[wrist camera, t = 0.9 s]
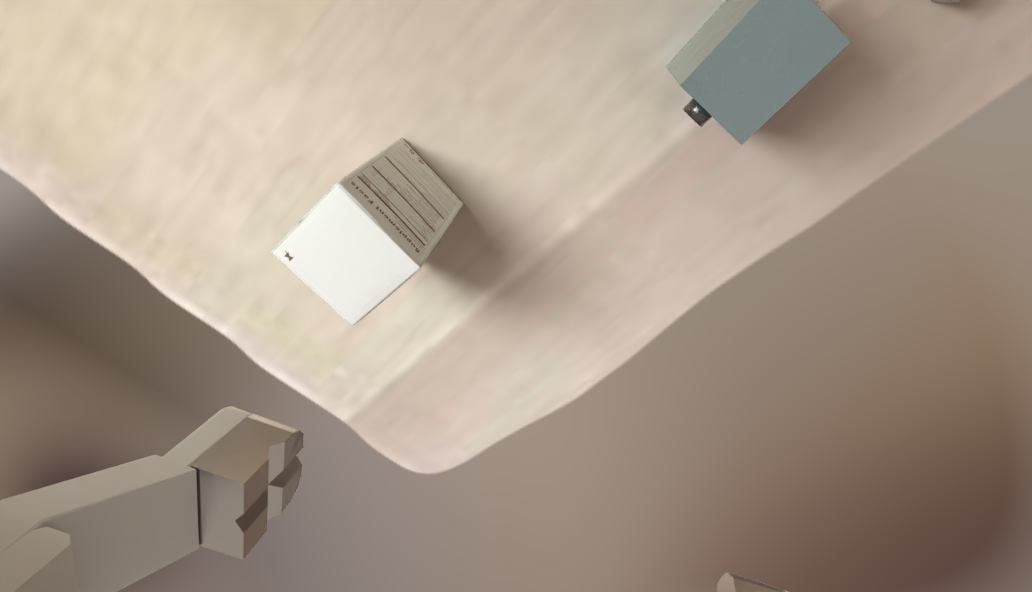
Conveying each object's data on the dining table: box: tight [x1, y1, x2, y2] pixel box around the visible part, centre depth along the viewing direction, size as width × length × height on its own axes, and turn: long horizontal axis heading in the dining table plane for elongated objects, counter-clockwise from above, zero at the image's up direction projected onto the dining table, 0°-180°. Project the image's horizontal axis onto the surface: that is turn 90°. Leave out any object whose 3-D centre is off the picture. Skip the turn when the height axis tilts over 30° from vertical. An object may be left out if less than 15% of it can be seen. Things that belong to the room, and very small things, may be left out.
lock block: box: [666, 0, 851, 145], centre depth 34 cm, size 8×5×9 cm, turn 141°
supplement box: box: [272, 138, 463, 325], centre depth 41 cm, size 7×7×13 cm
